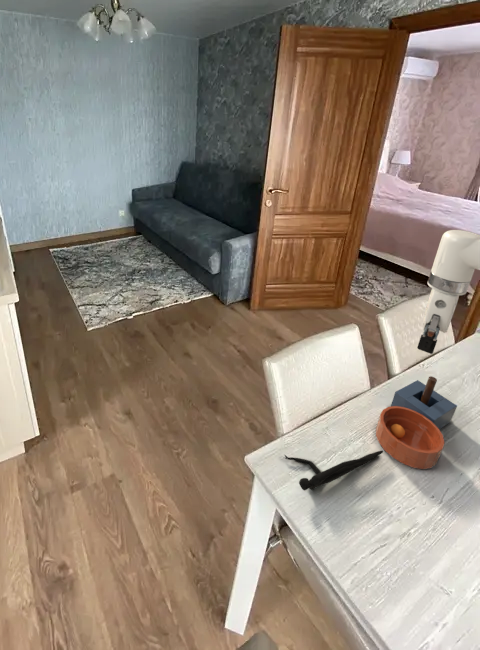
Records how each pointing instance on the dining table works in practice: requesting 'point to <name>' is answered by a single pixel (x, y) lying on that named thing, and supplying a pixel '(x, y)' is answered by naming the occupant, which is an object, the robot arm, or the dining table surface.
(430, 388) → the stick
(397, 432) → the ball
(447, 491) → the dining table surface
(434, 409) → the holder
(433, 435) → the bowl
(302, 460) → the dark humanoid figurine
